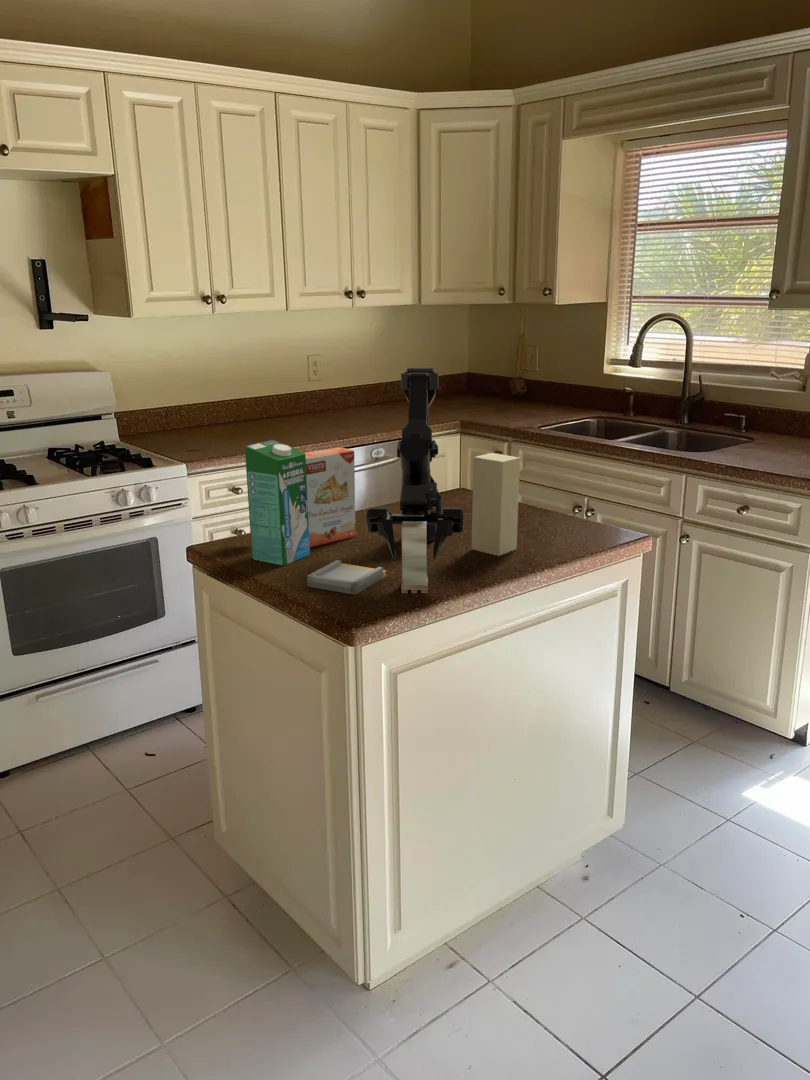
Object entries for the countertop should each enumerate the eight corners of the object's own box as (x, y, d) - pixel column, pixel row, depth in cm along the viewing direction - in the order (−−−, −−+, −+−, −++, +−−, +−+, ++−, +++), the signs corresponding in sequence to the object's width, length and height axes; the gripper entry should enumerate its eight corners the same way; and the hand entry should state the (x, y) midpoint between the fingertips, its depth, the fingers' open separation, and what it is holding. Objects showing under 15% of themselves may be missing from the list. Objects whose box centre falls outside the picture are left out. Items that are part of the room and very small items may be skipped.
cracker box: (308, 549, 193) (304, 457, 187) (293, 543, 197) (289, 454, 191) (357, 537, 202) (355, 449, 196) (342, 531, 206) (339, 445, 200)
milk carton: (283, 566, 182) (277, 449, 174) (251, 559, 186) (244, 445, 179) (310, 554, 189) (305, 442, 182) (278, 548, 194) (272, 438, 186)
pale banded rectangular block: (402, 584, 170) (401, 521, 166) (427, 584, 170) (427, 521, 166) (401, 593, 165) (400, 528, 161) (427, 593, 165) (427, 528, 161)
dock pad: (340, 568, 180) (339, 558, 179) (386, 576, 175) (385, 565, 174) (307, 586, 169) (307, 575, 169) (355, 594, 164) (355, 584, 164)
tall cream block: (519, 549, 191) (522, 456, 185) (499, 556, 186) (501, 461, 180) (491, 542, 196) (492, 451, 190) (471, 549, 191) (472, 456, 185)
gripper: (366, 467, 165) (362, 538, 158) (463, 466, 164) (463, 538, 157) (370, 496, 175) (367, 565, 167) (462, 497, 174) (462, 566, 166)
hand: (414, 558), depth 164 cm, fingers open, 7 cm apart
